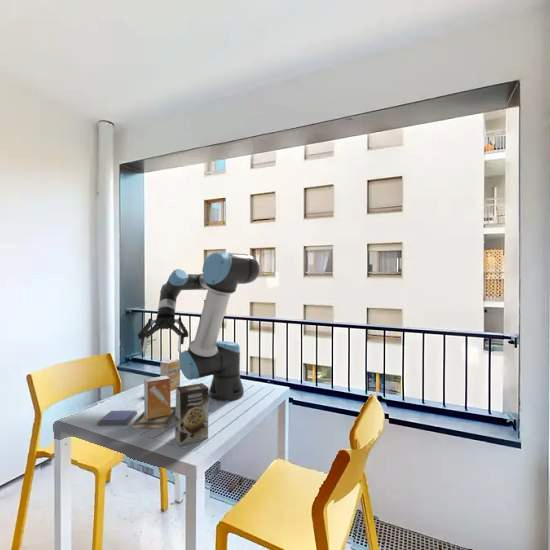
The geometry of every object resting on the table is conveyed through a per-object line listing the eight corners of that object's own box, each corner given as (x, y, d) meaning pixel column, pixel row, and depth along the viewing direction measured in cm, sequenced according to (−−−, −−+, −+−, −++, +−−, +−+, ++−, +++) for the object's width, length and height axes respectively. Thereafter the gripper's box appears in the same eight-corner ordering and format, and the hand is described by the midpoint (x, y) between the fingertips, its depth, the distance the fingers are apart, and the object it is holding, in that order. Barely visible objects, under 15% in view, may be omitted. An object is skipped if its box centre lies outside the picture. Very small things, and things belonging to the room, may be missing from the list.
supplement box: (167, 392, 142) (167, 363, 142) (159, 390, 144) (159, 362, 144) (180, 387, 149) (180, 359, 149) (172, 385, 151) (173, 358, 151)
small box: (147, 420, 110) (147, 381, 111) (144, 415, 115) (143, 378, 117) (171, 414, 114) (170, 377, 116) (166, 410, 120) (166, 375, 121)
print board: (178, 410, 122) (179, 406, 122) (167, 427, 108) (167, 423, 108) (147, 411, 121) (147, 406, 121) (131, 428, 107) (131, 423, 107)
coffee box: (180, 446, 96) (180, 392, 96) (174, 437, 101) (175, 386, 101) (209, 438, 100) (209, 387, 101) (202, 430, 106) (202, 382, 106)
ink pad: (137, 414, 119) (137, 410, 119) (126, 424, 110) (126, 420, 110) (110, 414, 119) (110, 410, 119) (97, 425, 110) (97, 420, 110)
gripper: (195, 315, 148) (193, 354, 133) (138, 317, 143) (130, 358, 128) (194, 305, 143) (192, 344, 128) (135, 306, 138) (126, 347, 123)
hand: (161, 351), depth 128 cm, fingers open, 13 cm apart
